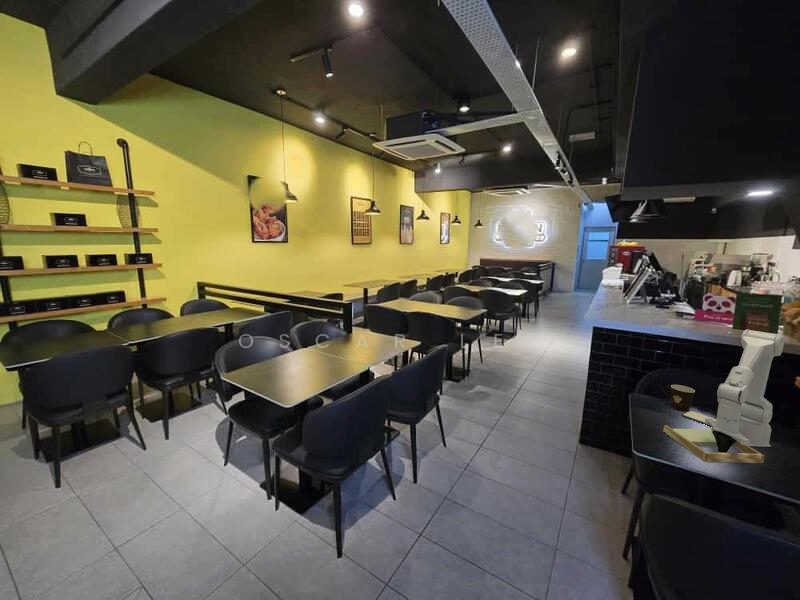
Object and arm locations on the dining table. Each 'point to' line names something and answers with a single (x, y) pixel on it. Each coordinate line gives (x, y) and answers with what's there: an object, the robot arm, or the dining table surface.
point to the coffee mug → (680, 397)
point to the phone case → (696, 417)
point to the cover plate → (698, 436)
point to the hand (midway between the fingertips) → (722, 452)
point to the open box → (745, 457)
